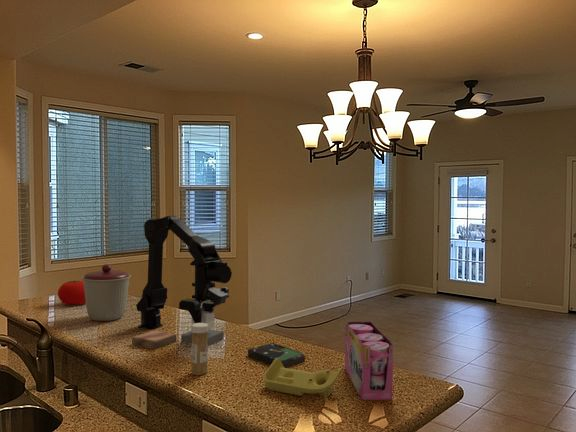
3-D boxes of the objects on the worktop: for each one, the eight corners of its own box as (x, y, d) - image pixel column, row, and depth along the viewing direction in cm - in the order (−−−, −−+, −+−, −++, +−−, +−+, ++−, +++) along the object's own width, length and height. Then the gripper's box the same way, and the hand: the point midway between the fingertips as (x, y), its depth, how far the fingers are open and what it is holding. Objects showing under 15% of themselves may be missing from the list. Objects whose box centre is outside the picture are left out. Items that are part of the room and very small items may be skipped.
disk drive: (247, 358, 152) (280, 370, 141) (247, 349, 152) (280, 360, 141) (272, 351, 159) (305, 362, 149) (272, 342, 159) (305, 352, 149)
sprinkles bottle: (208, 375, 136) (208, 326, 135) (191, 376, 135) (191, 326, 134) (207, 369, 140) (207, 321, 139) (190, 370, 139) (190, 322, 138)
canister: (116, 325, 184) (116, 268, 183) (71, 322, 187) (71, 266, 186) (138, 314, 202) (139, 262, 201) (97, 311, 205) (97, 260, 204)
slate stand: (181, 342, 165) (181, 334, 165) (199, 334, 174) (199, 327, 174) (206, 346, 160) (206, 339, 160) (223, 338, 169) (223, 331, 169)
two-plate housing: (191, 327, 166) (191, 312, 166) (199, 324, 170) (199, 309, 170) (206, 330, 164) (206, 314, 163) (214, 327, 168) (214, 311, 167)
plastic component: (259, 380, 127) (278, 353, 134) (268, 401, 129) (286, 375, 137) (327, 392, 116) (344, 363, 123) (335, 416, 118) (351, 386, 126)
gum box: (395, 402, 120) (396, 346, 119) (362, 403, 119) (363, 347, 119) (370, 367, 144) (372, 321, 143) (343, 368, 143) (344, 321, 142)
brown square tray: (131, 344, 161) (131, 337, 161) (153, 337, 170) (153, 329, 170) (155, 349, 157) (156, 341, 157) (176, 341, 166) (176, 333, 166)
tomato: (86, 299, 227) (86, 276, 227) (97, 304, 218) (97, 280, 217) (53, 303, 218) (53, 280, 217) (63, 309, 208) (63, 284, 208)
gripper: (206, 286, 154) (206, 336, 155) (238, 277, 171) (238, 322, 172) (178, 283, 159) (177, 331, 160) (211, 275, 176) (211, 318, 177)
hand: (202, 326), depth 167 cm, fingers closed on two-plate housing, 4 cm apart
